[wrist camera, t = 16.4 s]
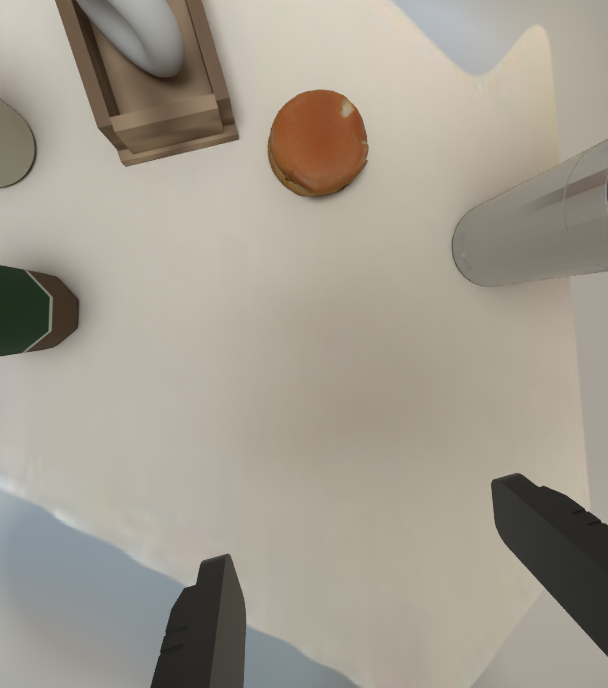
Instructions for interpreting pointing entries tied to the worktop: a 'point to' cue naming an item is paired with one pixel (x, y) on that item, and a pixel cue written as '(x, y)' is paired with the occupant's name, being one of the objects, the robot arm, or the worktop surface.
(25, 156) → the travel mug
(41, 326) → the beer bottle
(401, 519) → the worktop surface
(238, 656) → the robot arm
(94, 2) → the donut
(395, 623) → the worktop surface
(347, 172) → the burger
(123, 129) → the walnut stand
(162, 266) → the worktop surface
